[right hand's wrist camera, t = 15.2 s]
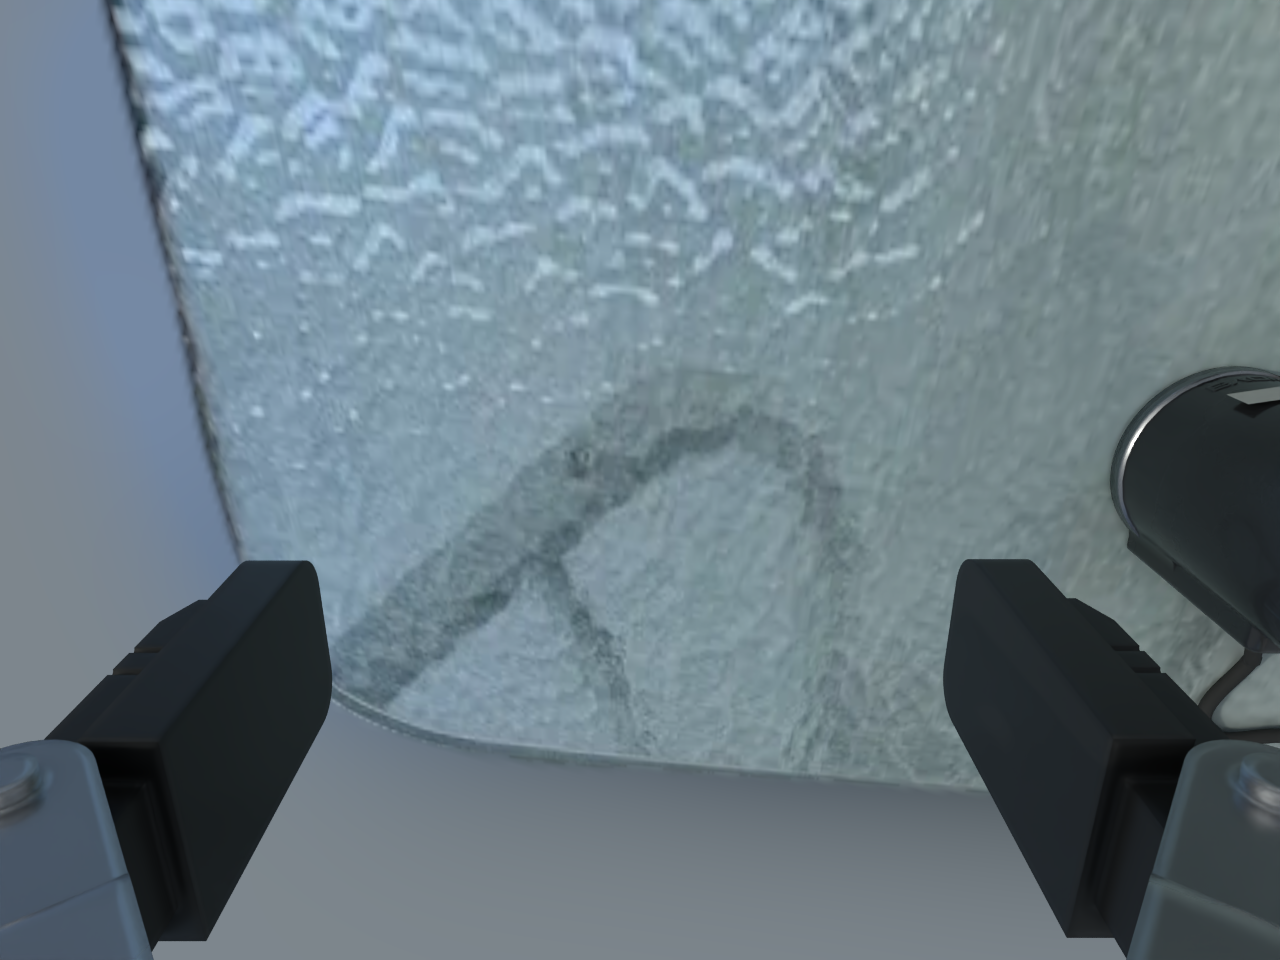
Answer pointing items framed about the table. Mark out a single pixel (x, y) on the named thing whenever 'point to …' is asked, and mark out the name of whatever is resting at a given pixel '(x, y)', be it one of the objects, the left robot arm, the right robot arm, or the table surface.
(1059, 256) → the table surface
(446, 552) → the table surface
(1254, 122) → the table surface
